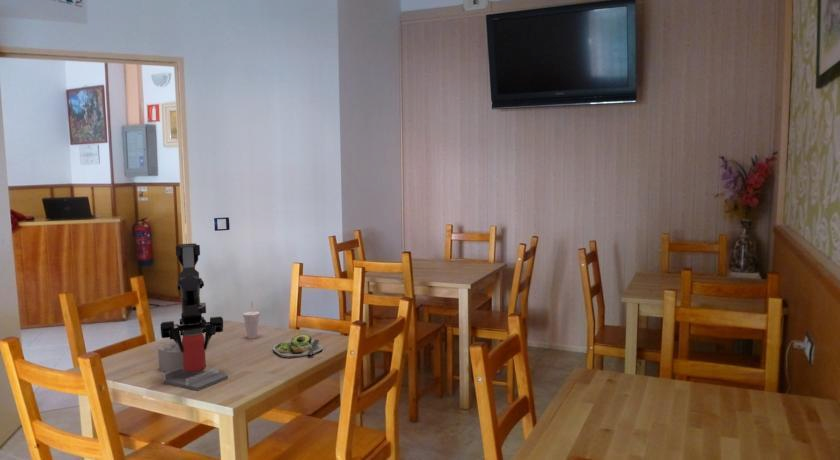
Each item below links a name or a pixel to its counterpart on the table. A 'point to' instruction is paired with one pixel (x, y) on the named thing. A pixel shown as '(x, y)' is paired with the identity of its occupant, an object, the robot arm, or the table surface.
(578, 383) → the table surface
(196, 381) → the rail board
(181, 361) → the paw print puck
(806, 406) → the table surface
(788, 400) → the table surface
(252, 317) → the smoothie
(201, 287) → the robot arm
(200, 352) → the beer can
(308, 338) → the salad plate
